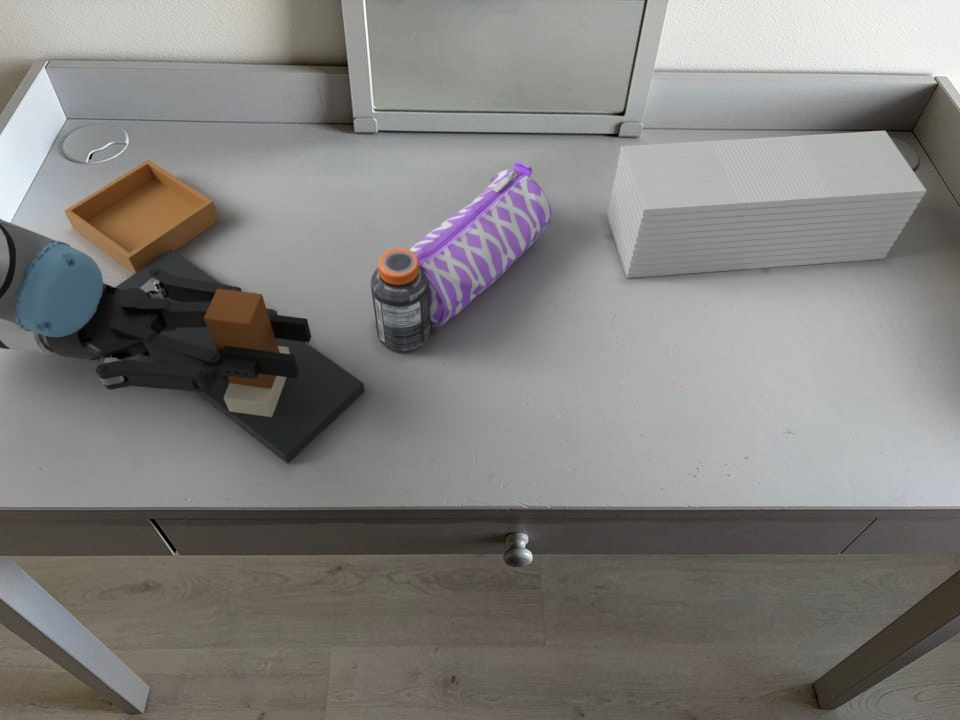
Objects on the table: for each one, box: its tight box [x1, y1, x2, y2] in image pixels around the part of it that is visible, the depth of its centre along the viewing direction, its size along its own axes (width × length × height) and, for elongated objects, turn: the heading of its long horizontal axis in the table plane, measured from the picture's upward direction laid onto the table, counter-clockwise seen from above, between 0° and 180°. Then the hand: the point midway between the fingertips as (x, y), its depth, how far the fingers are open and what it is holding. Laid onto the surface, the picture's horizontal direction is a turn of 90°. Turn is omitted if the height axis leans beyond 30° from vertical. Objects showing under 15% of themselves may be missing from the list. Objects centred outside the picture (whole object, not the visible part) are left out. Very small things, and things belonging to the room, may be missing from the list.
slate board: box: [114, 249, 365, 464], centre depth 83 cm, size 11×30×2 cm, turn 52°
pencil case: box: [408, 159, 552, 328], centre depth 88 cm, size 22×9×10 cm, turn 145°
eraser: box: [204, 289, 290, 417], centre depth 74 cm, size 7×4×12 cm, turn 172°
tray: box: [63, 159, 220, 275], centre depth 94 cm, size 12×12×3 cm
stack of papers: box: [606, 130, 927, 279], centre depth 92 cm, size 32×11×11 cm, turn 97°
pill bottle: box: [370, 247, 432, 353], centre depth 81 cm, size 6×6×11 cm
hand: (301, 348), depth 73 cm, fingers closed on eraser, 4 cm apart
